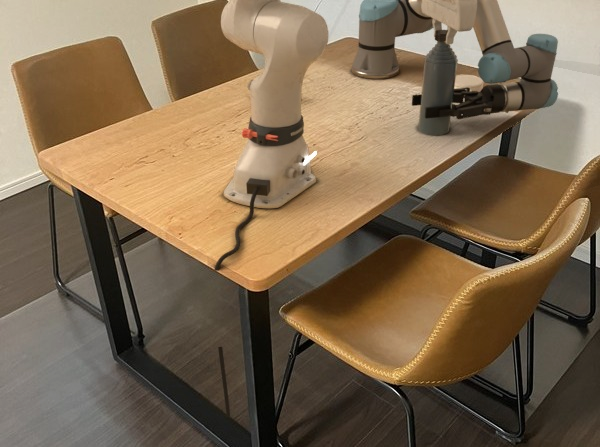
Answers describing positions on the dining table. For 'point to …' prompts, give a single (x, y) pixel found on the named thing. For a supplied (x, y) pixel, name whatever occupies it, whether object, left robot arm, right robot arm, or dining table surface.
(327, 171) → the dining table surface
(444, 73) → the bottle
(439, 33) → the cap
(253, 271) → the dining table surface
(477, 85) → the cream round disc
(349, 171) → the dining table surface
